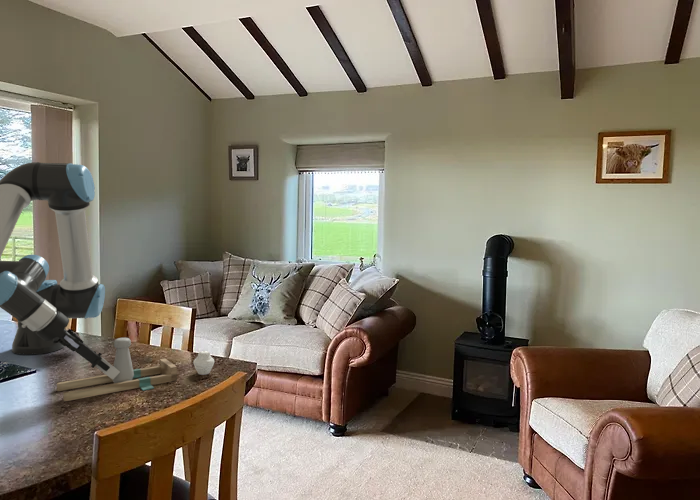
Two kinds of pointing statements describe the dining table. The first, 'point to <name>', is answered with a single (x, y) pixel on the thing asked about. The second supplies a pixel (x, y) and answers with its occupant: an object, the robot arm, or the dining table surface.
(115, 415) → the dining table surface
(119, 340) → the salt shaker
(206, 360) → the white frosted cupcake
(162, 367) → the guide rails
